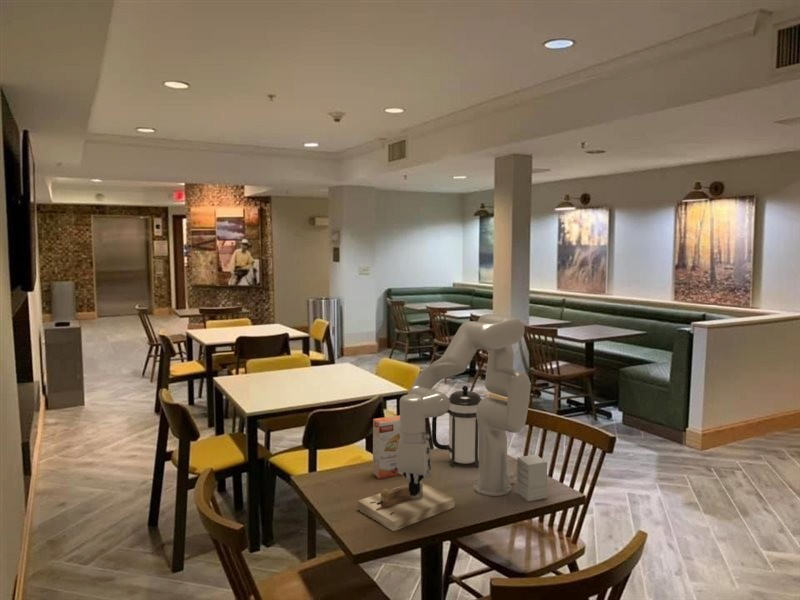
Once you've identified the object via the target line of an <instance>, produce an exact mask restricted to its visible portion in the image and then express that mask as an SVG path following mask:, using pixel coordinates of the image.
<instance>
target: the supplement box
mask: <svg viewBox="0 0 800 600" xmlns="http://www.w3.org/2000/svg"><path fill="white" fill-rule="evenodd" d="M516 460H517V463H516V464H517V465H516V469H517V470H516V471H517V472H516V473H517V474H516V493H517V494H518V495H519V496H520V495H521V498H523V497H524V498H525V499H524V498H523V499H524V500H526V501H527V502H531V501H537V500H543V498H544V499H547V496H548V461H547V460H545V459H543V458H542V457H540V456H539V455H537V454H531V455H530V454H529V455H523V456H517V458H516Z"/></svg>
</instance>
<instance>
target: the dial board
mask: <svg viewBox="0 0 800 600" xmlns="http://www.w3.org/2000/svg"><path fill="white" fill-rule="evenodd" d="M422 483H423V496H422V497H421V498H419V499H408V500H405V501H403V502H400V503H397V504H394V505H391V506H388V507H385V508H384V507H382V506H381V504H379V505H377V503H378V502H381V492H380V493H377V494H374V495H371V496H367V497H366V498H362V499H359V500H357V510H358V511H359V510H360V511H359V512H361V513H362V512H363V514H364V513H365V514H364V515H366V516H367V515H368V516H367V517H369V516H370V517H371V519H372V518H373V519H372V520H374V521H375V520H376V522H377V521H378V523H379V524H380V523H381V525H382V526H384V527H385V528H387V529H389V530H390V531H392V532H395V531H398V530H400V529H403V528H405V527H409V526H410V525H413V524H415V523H418V522H420V521H424V520H426V519H428V518H432V517H434V516H437V515H439V514H441V513H443V512H446V511H449V510H451V509H454V508H455V506H456V505H455V504H456V503H455V502H456V501H455V500H456V498H455V497H453V496H451V495H449V494H447V493H445V492H442V491H440V490H438V489H437V488H434V487H432V486H430V485H428V484H426V483H424V482H422ZM405 485H407V483H406V484H403V485H401V486H396V487H394V488H392V489H396V488H399V487H402V486H405ZM392 489H390V490H392ZM370 517H369V518H370Z"/></svg>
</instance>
